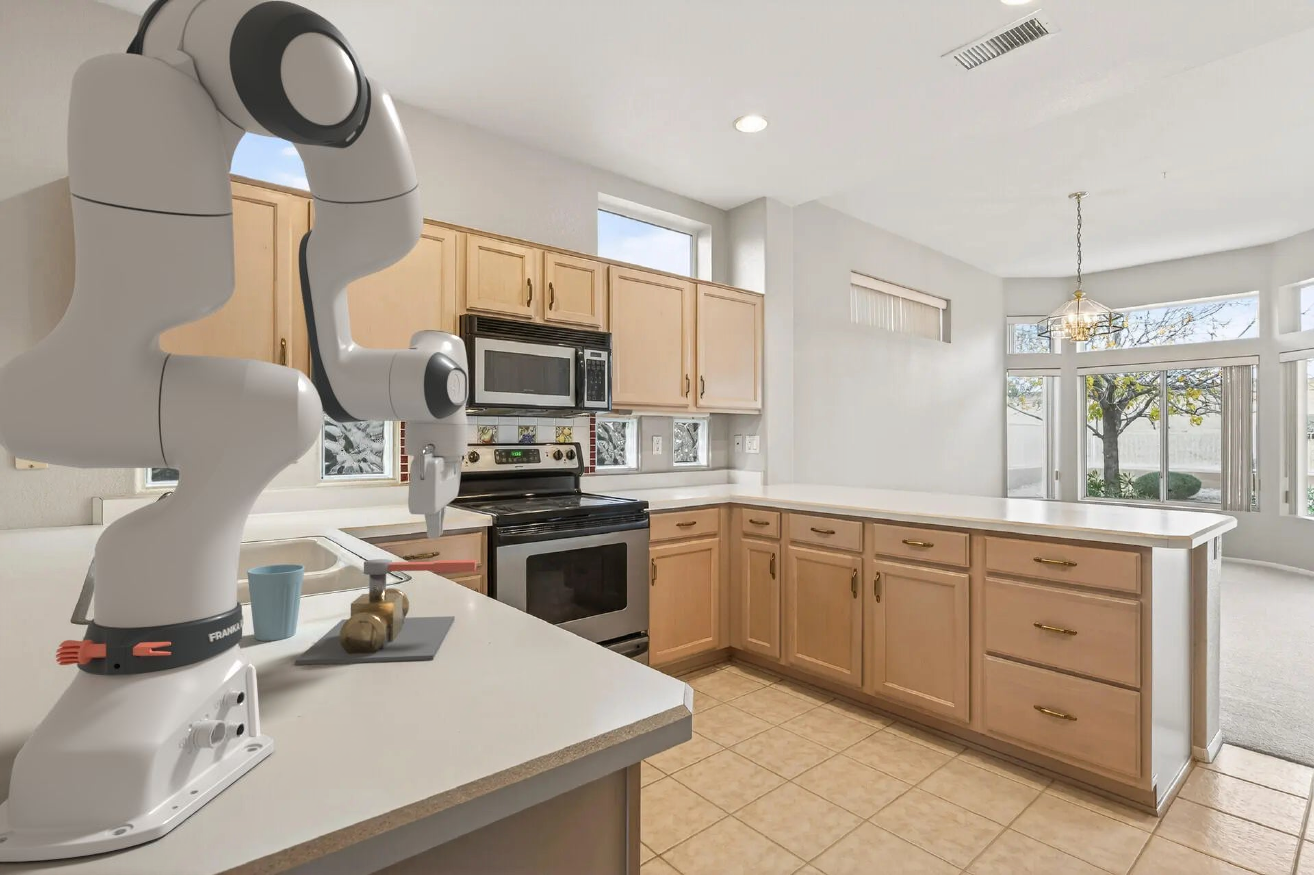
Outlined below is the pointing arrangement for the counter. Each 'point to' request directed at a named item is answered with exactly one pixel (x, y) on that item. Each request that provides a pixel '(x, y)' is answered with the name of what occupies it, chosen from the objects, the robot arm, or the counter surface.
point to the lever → (418, 566)
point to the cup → (275, 600)
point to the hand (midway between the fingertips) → (435, 536)
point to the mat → (410, 644)
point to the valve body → (374, 618)
